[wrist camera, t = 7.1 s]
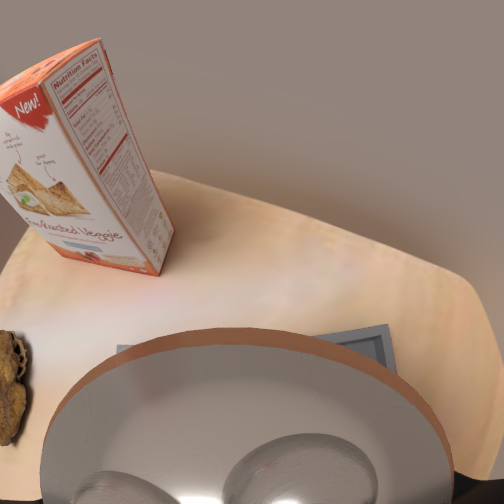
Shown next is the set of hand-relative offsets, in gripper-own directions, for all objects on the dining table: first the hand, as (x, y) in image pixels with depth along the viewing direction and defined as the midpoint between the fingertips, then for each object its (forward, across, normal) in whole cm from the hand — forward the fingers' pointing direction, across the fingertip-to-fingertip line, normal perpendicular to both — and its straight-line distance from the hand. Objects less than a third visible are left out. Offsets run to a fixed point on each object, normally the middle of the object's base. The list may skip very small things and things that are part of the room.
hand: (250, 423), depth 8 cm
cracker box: (+21, +14, -2) cm, 25 cm away
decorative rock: (+9, +30, +10) cm, 33 cm away
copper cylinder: (+4, 0, +6) cm, 7 cm away
